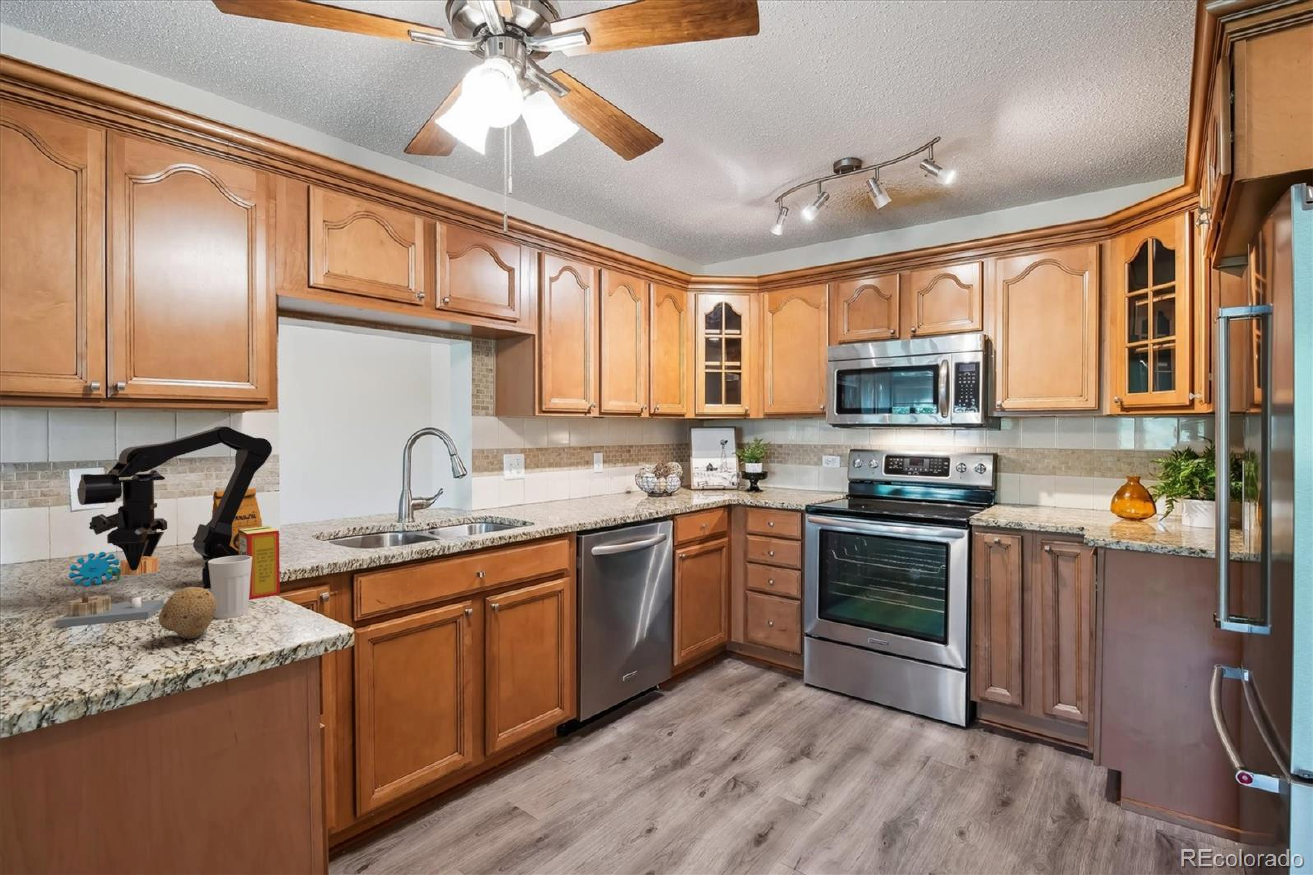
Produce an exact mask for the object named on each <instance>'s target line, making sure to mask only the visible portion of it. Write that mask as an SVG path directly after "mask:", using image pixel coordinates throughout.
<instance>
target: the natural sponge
mask: <svg viewBox="0 0 1313 875" xmlns="http://www.w3.org/2000/svg"><path fill="white" fill-rule="evenodd" d="M216 605H217V603H216V599H215V597H214V595H213V594H212V592H211V591H209V590H208V589H207V588H203V587H200V586H199V587H198V586H188V587H184V588H181V589H179V590H177V591H175V592H174V593H173V594H172V595H170V597H169V598H168V599H167V601H166V602H165V603H164V606H163V607H162V608H161V611H160V612H159V614H158V623H159V625H160V626H161V627H162V628H163V629H165V630H167V631H171V632H174V633H176V634H178V635H179V636H180V637H181V638H182V637H183V638H184V639H196V638H199V636H201V635H202V634H203V633H204V632H206V630H207V629H208V627H209V626H210V625H211V623H212V621H213V620H214V619H215V618H214V615H215V611H216Z"/></svg>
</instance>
